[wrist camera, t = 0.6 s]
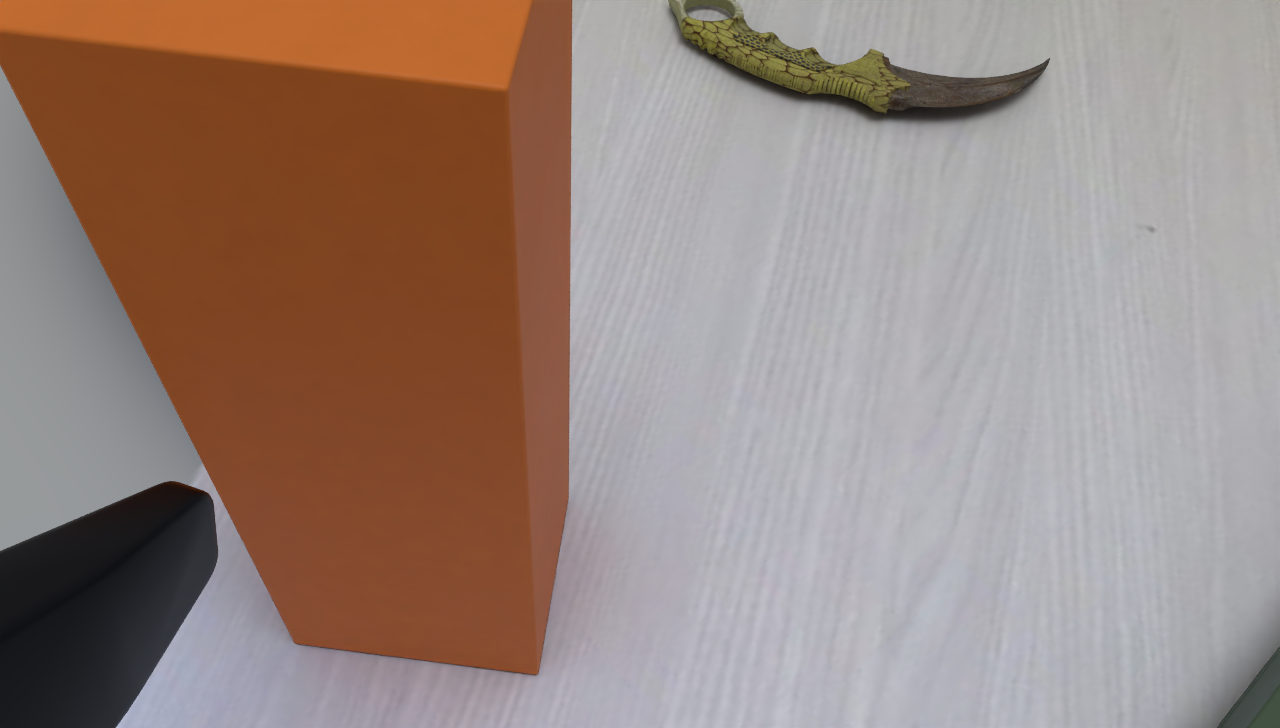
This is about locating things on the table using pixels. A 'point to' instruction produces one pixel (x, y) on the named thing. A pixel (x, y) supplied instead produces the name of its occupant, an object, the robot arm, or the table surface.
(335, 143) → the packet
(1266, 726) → the tray
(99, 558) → the robot arm
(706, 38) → the knife
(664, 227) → the table surface
